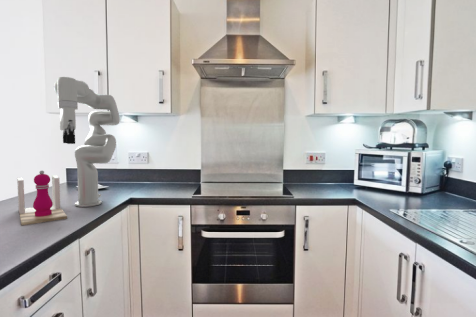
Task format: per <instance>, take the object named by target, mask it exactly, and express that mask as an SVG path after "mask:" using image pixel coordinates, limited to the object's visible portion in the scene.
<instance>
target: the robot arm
mask: <svg viewBox="0 0 476 317" xmlns="http://www.w3.org/2000/svg"><path fill="white" fill-rule="evenodd" d="M53 88H54V92H55V93H56V95H57V106H58V107H57V108H58V109H60V113H59V114H60V115H59V119H60V120H59V124H60V125H59V129H60V130H61V131H62V142H63V143H62V144H67V145H72V144H73V145H75V144H76V133H75V132H76V131H75V130H76V128H77V127H76V126H77V124H76V121H77V120H76V110H78V104H82V105H83V104H84V105H85V106H87V107H89V108H91V109H93V111H91V112H90V113H89V114H88V118H87V119H88V126H89V130H90V131H89V133H88V135H86V138H85V140H84V145H80V146H78V147H76V149H75V151H74V157H75V162H76V167H77V168H76V171H77V199H78V200H77V201H76V202H74V206H75V207H80V208H81V207H82V208H85V207H96V206H98V205H101V204H102V200H100V199H99V198H101V197H102V194H101V193H99V177H98V176H99V172H98V169H97V167H96V166H95V164H108V163H110V161H111V160H112V158H113V156H114V152H115V150H116V147H117V140H116V137H115V136H114V135H112V134H108V133H107V132H106V130H105V129H104V128H103V127H102V126H117V125H119V124H120V120H121V116H120V114H119V110H118V106H117V103H116V100H115V97H113V96H112V95H111V94H99V93H97V92H95V91H94V90H93V89H91V88H90V87H89V85H88V84H87V82H85V81H83V80H78V79H76V78H74V77H69V76H60V77H58V78H57V80H56V81H55V82H54V85H53Z"/></svg>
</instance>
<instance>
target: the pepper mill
mask: <svg viewBox="0 0 476 317" xmlns="http://www.w3.org/2000/svg"><path fill="white" fill-rule="evenodd" d="M50 182H51V177H50V176H49V175H48V174H46V173H45V171H44V170H40V171H39V173H38V174H36V175H35V176H34V178H33V183H34V184H35V189H36V197H35V199H34V201H33V204H32V207H33V208H34V209H35V210H36V211H35V216H37V217H41V216H48V215H51V214H52V210H51V209H50V208H51V207H52V206H53V199H52V198H51V197H50V195H49V188H50V184H49V183H50Z"/></svg>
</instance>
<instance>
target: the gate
mask: <svg viewBox="0 0 476 317" xmlns="http://www.w3.org/2000/svg"><path fill="white" fill-rule="evenodd" d="M16 181H17V201H18V202H17V203H18V206H17V207H18V214H19V216H20V214H22V213H30V212H35V211H36V210H35V209H34V208H33V206H32V207H25V203H26V202H25V182H24V178H23V177H17V178H16ZM60 185H61V184H60V177H59V176H58V175H57V174H55V175H51V189H52V190H51V192H52V195H51V196H52V203H53V206H52V207H51V208H50V209H51V210H53V209H61V193H60V192H61V188H60V187H61V186H60Z"/></svg>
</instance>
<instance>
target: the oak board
mask: <svg viewBox="0 0 476 317" xmlns="http://www.w3.org/2000/svg"><path fill="white" fill-rule="evenodd" d="M19 219H20V224H21V226H26V225H32V224H33V225H34V224H40V223H45V222H46V223H47V222H53V221H58V220H59V221H60V220H66V219H68V215H67V214H66V213H65V211H64V210H63V209H62V208H60V209H53V210H52V214H51V215H48V216H41V217H37V216H35V212H30V213H22V214H20V215H19Z"/></svg>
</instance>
